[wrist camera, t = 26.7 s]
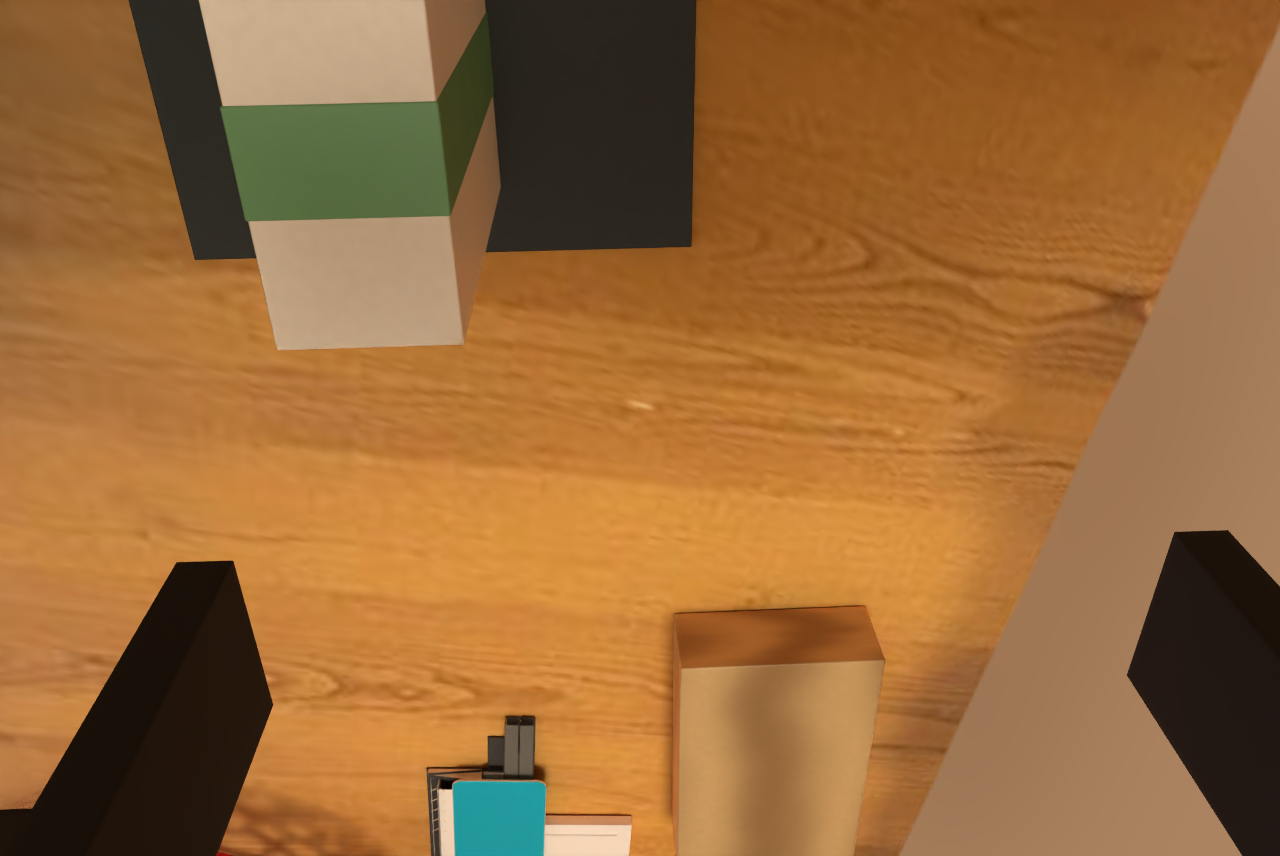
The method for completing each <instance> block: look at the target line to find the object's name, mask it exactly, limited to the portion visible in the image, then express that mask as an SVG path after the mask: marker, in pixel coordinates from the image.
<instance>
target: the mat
mask: <svg viewBox="0 0 1280 856" xmlns="http://www.w3.org/2000/svg"><path fill="white" fill-rule="evenodd" d="M129 3H130V7H131V11H132V15H133V19H134V22H135V26H136V30H137V34H138V38H139V42H140V46H141V50H142V54H143V58H144V62H145V66H146V69H147V73H148V77H149V81H150V85H151V89H152V93H153V97H154V101H155V105H156V109H157V113H158V117H159V120H160V124H161V128H162V132H163V136H164V140H165V144H166V148H167V152H168V156H169V160H170V164H171V168H172V171H173V175H174V179H175V183H176V187H177V191H178V195H179V199H180V203H181V207H182V211H183V215H184V218H185V222H186V226H187V230H188V234H189V238H190V242H191V246H192V250H193V254H194V258H195V260H205V259H243V258H256V254H255V249H254V245H253V240H252V236H251V231H250V227H249V222H248V221H245V217H244V213H243V208H242V204H241V200H240V195H239V191H238V186H237V182H236V177H235V173H234V169H233V164H232V160H231V155H230V151H229V146H228V142H227V137H226V133H225V129H224V124H223V120H222V115H221V111H220V107H221V106H222V102H221V97H220V93H219V88H218V84H217V79H216V75H215V70H214V66H213V61H212V57H211V52H210V48H209V43H208V39H207V35H206V30H205V26H204V21H203V17H202V12H201V8H200V3H199V0H129ZM485 7H486V12H487V13H488V24H489V36H490V48H491V60H492V72H493V83H494V93H493V101H494V113H495V124H496V136H497V148H498V159H499V171H500V183H501V188H500V192H499V196H498V201H497V205H496V209H495V213H494V218H493V222H492V226H491V230H490V235H489V239H488V243H487V247H486V252H510V251H549V250H587V249H625V248H663V247H691V242H692V190H693V137H694V85H695V33H696V0H485Z"/></svg>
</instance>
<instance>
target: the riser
mask: <svg viewBox="0 0 1280 856" xmlns="http://www.w3.org/2000/svg"><path fill="white" fill-rule="evenodd" d="M884 665H885V658H884V656H883V653H882V650H881V648H880V645H879V642H878V639H877V637H876V634H875V631H874V629H873V626H872V623H871V620H870V618H869V615H868V612H867V610H866V607H865V606H857V607H832V608H807V609H783V610H758V611H733V612H709V613H684V614H675V615H674V674H673V757H672V824H673V835H674V846H675V856H854V850H855V844H856V838H857V832H858V825H859V819H860V813H861V807H862V801H863V795H864V788H865V782H866V776H867V770H868V764H869V758H870V751H871V745H872V739H873V733H874V727H875V721H876V714H877V708H878V702H879V696H880V690H881V684H882V677H883V671H884Z"/></svg>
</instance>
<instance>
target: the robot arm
mask: <svg viewBox="0 0 1280 856" xmlns="http://www.w3.org/2000/svg"><path fill="white" fill-rule="evenodd" d="M1127 676H1128V678H1129V679H1130V681H1131V682H1132V684H1133V686H1134V687H1135V689H1136V690H1137V692H1138V693H1139V695H1140V696H1141V698H1142V700H1143V701H1144V703H1145V704H1146V706H1147V707H1148V709H1149V711H1150V712H1151V714H1152V715H1153V717H1154V718H1155V720H1156V721H1157V723H1158V725H1159V726H1160V728H1161V729H1162V731H1163V732H1164V734H1165V736H1166V737H1167V739H1168V740H1169V742H1170V743H1171V745H1172V747H1173V748H1174V750H1175V751H1176V753H1177V754H1178V756H1179V757H1180V759H1181V761H1182V762H1183V764H1184V765H1185V767H1186V768H1187V770H1188V771H1189V773H1190V775H1191V776H1192V778H1193V779H1194V781H1195V782H1196V784H1197V786H1198V787H1199V789H1200V790H1201V792H1202V793H1203V795H1204V797H1205V798H1206V800H1207V801H1208V803H1209V804H1210V806H1211V807H1212V809H1213V810H1214V812H1215V814H1216V815H1217V817H1218V818H1219V820H1220V821H1221V823H1222V825H1223V826H1224V828H1225V829H1226V831H1227V832H1228V834H1229V836H1230V837H1231V839H1232V840H1233V842H1234V843H1235V845H1236V847H1237V848H1238V850H1239V851H1240V853H1241V854H1242V856H1280V586H1279V585H1278V584H1277V583H1276V582H1275V581H1274V580H1273V579H1272V578H1271V577H1270V576H1269V575H1268V573H1267V572H1266V571H1265V570H1264V569H1263V568H1262V567H1261V566H1260V565H1259V564H1258V562H1257V561H1256V560H1255V559H1254V558H1253V557H1252V556H1251V555H1250V554H1249V553H1248V552H1247V551H1246V550H1245V548H1244V547H1243V546H1242V545H1241V544H1240V543H1239V542H1238V541H1237V540H1236V539H1235V538H1234V536H1233V535H1232V534H1231V533H1230V532H1229V531H1228V530H1225V531H1191V532H1174V535H1173V538H1172V541H1171V544H1170V547H1169V550H1168V553H1167V556H1166V559H1165V562H1164V565H1163V568H1162V572H1161V574H1160V577H1159V580H1158V583H1157V586H1156V589H1155V592H1154V595H1153V598H1152V601H1151V604H1150V607H1149V610H1148V614H1147V616H1146V619H1145V622H1144V625H1143V629H1142V631H1141V634H1140V638H1139V640H1138V644H1137V647H1136V650H1135V652H1134V656H1133V659H1132V662H1131V664H1130V668H1129V670H1128V674H1127ZM272 706H273V703H272V699H271V695H270V692H269V688H268V685H267V681H266V677H265V674H264V670H263V667H262V663H261V659H260V656H259V652H258V648H257V645H256V641H255V638H254V634H253V630H252V627H251V623H250V620H249V616H248V612H247V609H246V605H245V602H244V598H243V594H242V591H241V587H240V584H239V580H238V576H237V573H236V569H235V566H234V562H233V561H206V562H177V563H176V564H175V566H174V568H173V569H172V571H171V573H170V575H169V576H168V578H167V580H166V581H165V583H164V585H163V586H162V588H161V590H160V592H159V593H158V595H157V597H156V598H155V600H154V602H153V604H152V605H151V607H150V609H149V610H148V612H147V614H146V616H145V617H144V619H143V621H142V622H141V624H140V626H139V627H138V629H137V631H136V633H135V634H134V636H133V638H132V639H131V641H130V643H129V645H128V646H127V648H126V650H125V651H124V653H123V655H122V656H121V658H120V660H119V662H118V663H117V665H116V667H115V668H114V670H113V672H112V674H111V675H110V677H109V679H108V680H107V682H106V684H105V685H104V687H103V689H102V691H101V692H100V694H99V696H98V697H97V699H96V701H95V703H94V704H93V706H92V708H91V709H90V711H89V713H88V715H87V716H86V718H85V720H84V721H83V723H82V725H81V726H80V728H79V730H78V732H77V733H76V735H75V737H74V738H73V740H72V742H71V744H70V745H69V747H68V749H67V750H66V752H65V754H64V755H63V757H62V759H61V761H60V762H59V764H58V766H57V767H56V769H55V771H54V773H53V774H52V776H51V778H50V779H49V781H48V783H47V784H46V786H45V788H44V790H43V791H42V793H41V795H40V796H39V798H38V800H37V802H36V803H35V805H34V807H33V808H32V809H9V810H0V856H216V855H217V853H218V850H219V847H220V845H221V842H222V839H223V837H224V834H225V831H226V829H227V826H228V823H229V821H230V818H231V815H232V813H233V810H234V807H235V805H236V802H237V799H238V797H239V794H240V791H241V789H242V786H243V783H244V781H245V778H246V775H247V773H248V770H249V768H250V765H251V762H252V760H253V757H254V754H255V752H256V749H257V746H258V744H259V741H260V738H261V736H262V733H263V730H264V728H265V725H266V722H267V720H268V717H269V714H270V712H271V709H272Z"/></svg>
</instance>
